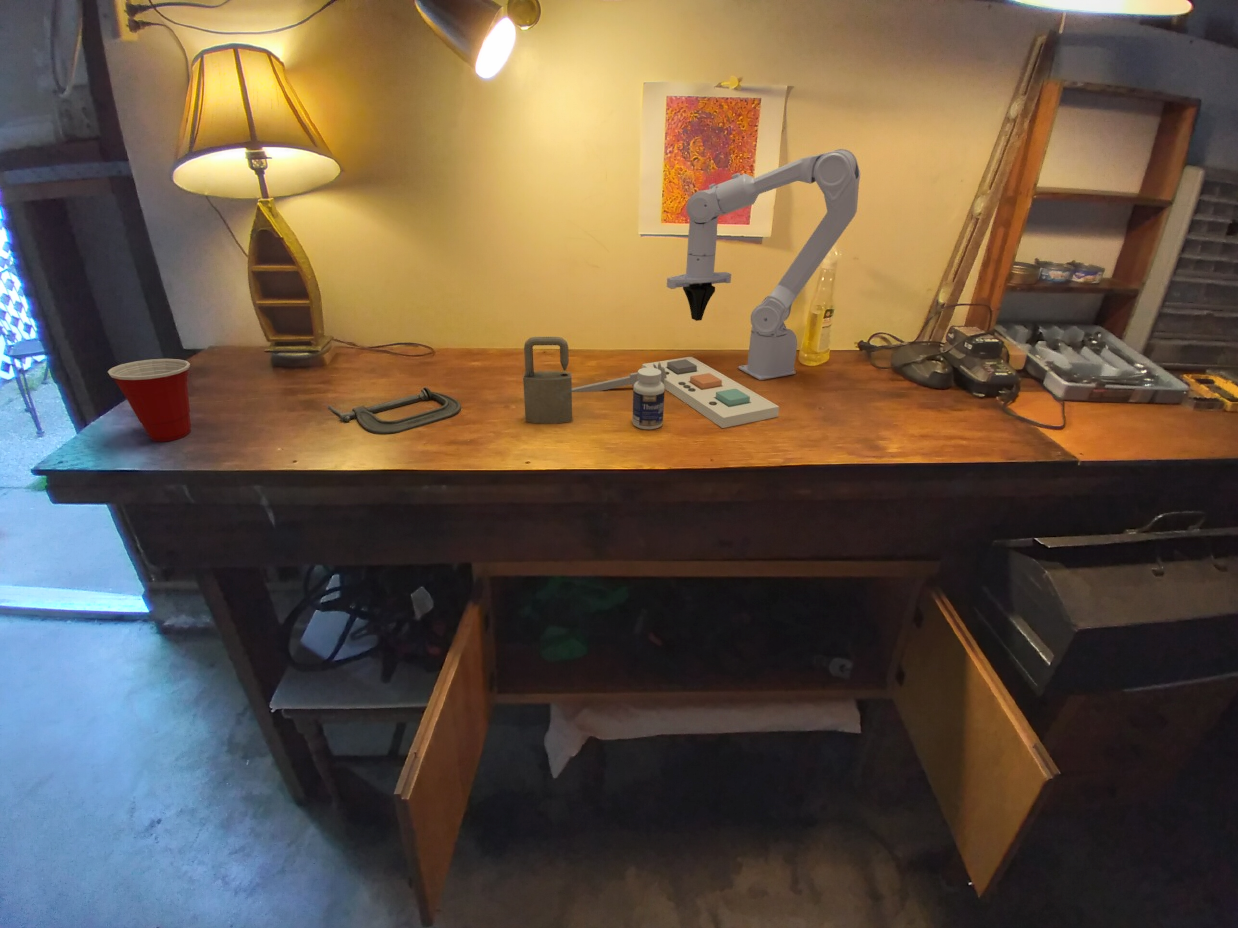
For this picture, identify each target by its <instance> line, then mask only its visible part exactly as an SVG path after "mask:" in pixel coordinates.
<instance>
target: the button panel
mask: <svg viewBox="0 0 1238 928" xmlns="http://www.w3.org/2000/svg"><path fill="white" fill-rule="evenodd" d="M684 359H686V360H688V361H690V362H691V363H693V364H695V365H696V366H697V372H692V373H685V374H679V375H677V374H675V373H674V372H672V371H671V370H669V369H667V362H671V361H678V360H684ZM659 362H660V363H661V367H664V368H665V372H666V376H667V378H664V387H665V391H667V392H669V393H670V394H671V395H673V396H675V397H676V398H677V399H679V400H680V401H682V403H683V402H684V403H685V404H686V405H688V406H690V408H692V409H693V410H695V411H697V412H698V413H700V414H701V415H702V416H704V417H705V418H707V419H708V420H709V421H711V422H712V423H714V424H716V425H717V426H718V427H720V428H722V429H726V428H731V427H735V426H739V425H740V426H741V425H745V424H750V423H755V422H759V421H764V420H769V419H773V418H778V417H779V412H780V406H779V405H777V404H775V403H774V402H772V401H770V400H768V399H767V398H765V397H763V396H761V395H760V394H758V393H757V392H754V391H753V390H751V389H749V388H747V387H746V386H744V385H743V384H740V383H739V382H737V381H735V380H733V379H731V378H730V377H729V376H726V374H725V375H724V374H723V373H721V372H719V371H717V370H716V369H714V368H712V367H711V366H708V365H707V364H705V363H703V362H702V361H700V360H698V359H697V358H694V356H686V357H679V358H674V359H667V360H662V361H655V362H654V361H653V362H648V363H647V362H646V363H641V369H642V368H654V366H653V363H654V364H655V365H656V367H657V368H658V363H659ZM707 373H710V374H712V375H714V376H715V377H717V378H719V379H720V380H722V386H721V387H716V388H711V389H705V390H701V389H699V388H698V387H696V386H694V385H693V384H691V383H690V376H695V375H701V374H707ZM660 382H661V381H660ZM730 389H738V390H739V391H741V392H743V393H745V394H746V395H748V396H750V401H749V403H748V404H743V405H738V406H732V407H728V406H726V405H725V404H723V403H721V402H720V401H718V400H717V399H716V392H719V391H725V390H730Z"/></svg>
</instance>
